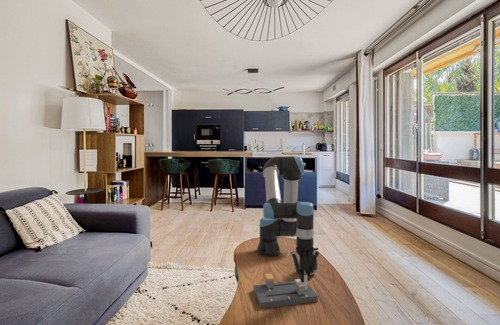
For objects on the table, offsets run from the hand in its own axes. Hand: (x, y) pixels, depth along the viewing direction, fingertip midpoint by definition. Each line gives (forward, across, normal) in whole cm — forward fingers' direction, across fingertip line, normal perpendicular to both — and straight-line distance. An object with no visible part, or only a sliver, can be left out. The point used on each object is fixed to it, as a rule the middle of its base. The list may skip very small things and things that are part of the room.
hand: (304, 288), depth 121 cm
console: (+4, -9, +3) cm, 10 cm away
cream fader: (+1, -2, 0) cm, 3 cm away
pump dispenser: (+4, +12, +22) cm, 25 cm away
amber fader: (+1, -14, +8) cm, 17 cm away
